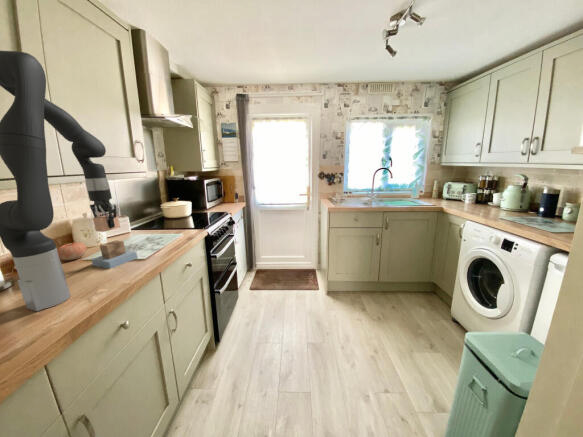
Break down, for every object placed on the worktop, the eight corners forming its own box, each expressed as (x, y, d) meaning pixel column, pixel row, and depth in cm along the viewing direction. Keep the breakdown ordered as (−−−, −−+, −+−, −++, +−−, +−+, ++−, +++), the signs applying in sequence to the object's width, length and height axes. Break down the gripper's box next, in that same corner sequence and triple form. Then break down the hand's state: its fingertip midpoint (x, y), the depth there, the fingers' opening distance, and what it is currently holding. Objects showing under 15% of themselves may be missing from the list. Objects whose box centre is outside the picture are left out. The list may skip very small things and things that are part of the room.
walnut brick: (109, 259, 101) (106, 246, 100) (102, 257, 103) (99, 245, 101) (126, 253, 107) (123, 241, 106) (118, 252, 109) (116, 240, 108)
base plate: (110, 268, 98) (109, 262, 97) (92, 265, 102) (91, 259, 102) (137, 257, 109) (136, 251, 108) (120, 255, 113) (119, 249, 113)
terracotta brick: (103, 231, 98) (100, 218, 97) (96, 231, 100) (92, 217, 99) (120, 227, 104) (117, 214, 103) (113, 226, 106) (110, 214, 105)
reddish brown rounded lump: (52, 262, 109) (48, 246, 107) (79, 253, 119) (75, 239, 117) (68, 264, 105) (63, 247, 104) (93, 255, 116) (90, 240, 114)
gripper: (78, 190, 97) (88, 228, 101) (99, 190, 92) (109, 230, 96) (97, 188, 104) (106, 224, 108) (119, 187, 99) (127, 225, 103)
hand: (107, 227), depth 102 cm, fingers closed on terracotta brick, 5 cm apart
